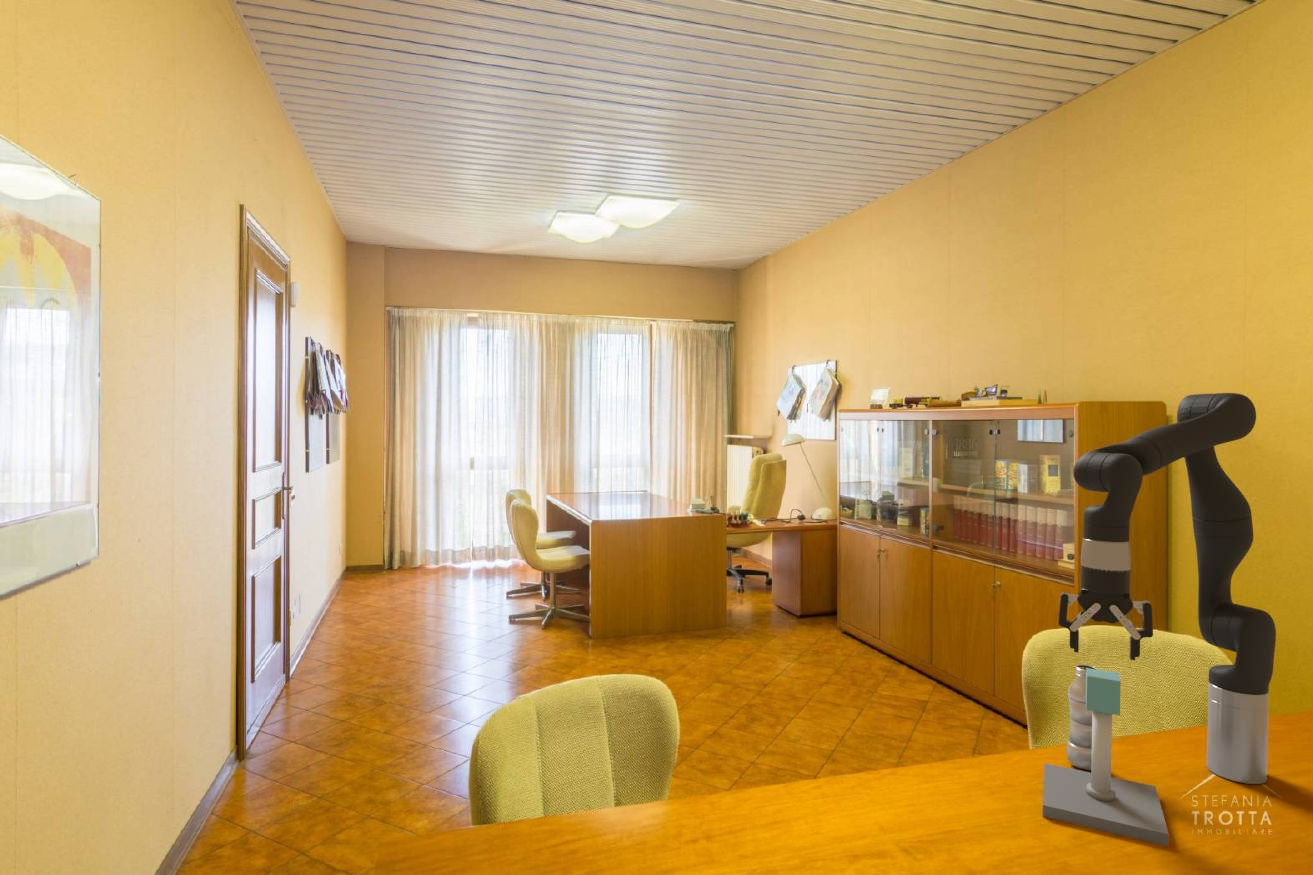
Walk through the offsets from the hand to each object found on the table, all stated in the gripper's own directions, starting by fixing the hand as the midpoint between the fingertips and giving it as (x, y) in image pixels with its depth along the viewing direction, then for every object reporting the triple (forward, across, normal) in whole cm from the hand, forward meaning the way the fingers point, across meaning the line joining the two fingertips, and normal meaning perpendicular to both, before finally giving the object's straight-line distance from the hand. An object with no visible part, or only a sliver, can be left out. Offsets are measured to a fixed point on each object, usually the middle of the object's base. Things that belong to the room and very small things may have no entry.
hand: (1103, 655), depth 129 cm
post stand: (+27, 0, 0) cm, 27 cm away
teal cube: (+10, 0, 0) cm, 10 cm away
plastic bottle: (+28, +2, -16) cm, 32 cm away
